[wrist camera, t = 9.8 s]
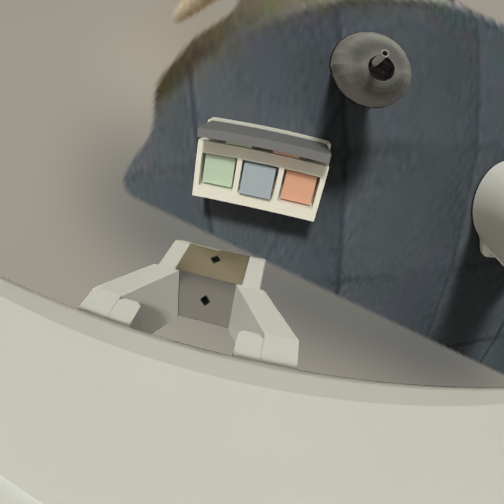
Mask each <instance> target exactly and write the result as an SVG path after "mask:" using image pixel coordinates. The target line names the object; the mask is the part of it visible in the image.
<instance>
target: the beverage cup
mask: <svg viewBox="0 0 504 504" xmlns="http://www.w3.org/2000/svg"><path fill="white" fill-rule="evenodd" d="M329 66H330V73H331V78H332V80H333V82H334V84H335V86H336V88H337V89H338V90H339V91H340V92H341V94H342V95H343V96H344V97H345V98H346V99H348V100H350V101H351V102H353V103H354V104H356V105H359V106H362V107H366V108H383V107H385V106H388V105H391V104H393V103H395V102H396V101H397V100H399V99H400V98H401V97H403V96H404V94H405V92H406V91H407V89H408V87H409V84H410V80H411V69H410V63H409V61H408V59H407V56H406V54H405V53H404V51H403V50H402V49H401V48H400V47H399V45H398V44H397V43H395V42H394V41H392V40H391V39H389V38H388V37H386V36H383V35H380V34H377V33H374V32H356V33H353V34H350V35H347V36H346V37H344V38H343V39H342V40H340V41H339V42H338V43H337V44H336V46H335V48H334V49H333V51H332V53H331V58H330V63H329Z"/></svg>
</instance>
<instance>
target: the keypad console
mask: <svg viewBox="0 0 504 504" xmlns="http://www.w3.org/2000/svg"><path fill="white" fill-rule="evenodd" d="M197 136H198V137H202V138H201V139H199V141H198V149H197V157H196V166H195V175H194V184H193V194H192V195H195V196H200V197H205V198H210V199H215V200H219V201H224V202H229V203H234V204H238V205H243V206H247V207H252V208H257V209H261V210H266V211H270V212H274V213H279V214H283V215H287V216H292V217H296V218H300V219H304V220H308V221H313V222H314V219H315V215H316V212H317V209H318V205H319V202H320V198H321V195H322V191H323V188H324V184H325V181H326V177H327V174H328V170H329V165H328V164H329V162H330V159H331V152H330V148H331V144H330V142H329V141H327V140H323V139H319V138H315V137H311V136H307V135H303V134H299V133H294V132H290V131H285V130H281V129H276V128H272V127H267V126H262V125H257V124H251V123H246V122H240V121H235V120H229V119H222V118H216V117H213V118H211V119H208V123H206V124H204V125H202V126H200V127H198V133H197ZM206 153H210V154H215V155H221V156H226V157H232V158H237V165H236V171H235V177H234V183H233V185H232V187H226V186H221V185H216V184H211V183H206V182H202V181H203V172H204V164H205V156H206ZM246 160H247V161H252V162H257V163H261V164H266V165H271V166H275V167H277V169H276V174H275V178H274V183H273V187H272V192H271V196H270V200H269V199H265V198H260V197H256V196H251V195H246V194H242V193H239V191H240V185H241V179H242V173H243V168H244V163H245V162H246ZM287 169H288V170H293V171H297V172H301V173H305V174H309V175H313V176H317V181H316V185H315V188H314V192H313V196H312V199H311V203H310V205H307V204H303V203H299V202H295V201H290V200H286V199H282V198H281V192H282V188H283V183H284V179H285V175H286V170H287Z"/></svg>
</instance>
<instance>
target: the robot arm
mask: <svg viewBox="0 0 504 504" xmlns="http://www.w3.org/2000/svg"><path fill="white" fill-rule="evenodd" d="M473 222H474V226H475V229H476V231H477V233H478V235H479V238H480V251H481V253H482V254H483V255H484V256H485V257H495V258H496V259H497V260H498V261H499V262H500V263H501V264H502V265H503V266H504V161H503V162H501V163H499V164H497V165H495V166H494V167H493V168H491V169H490V170H489V171H488V173H487V174H486V175H485V176H484V178H483V179H482V181H481V183H480V184H479V187H478V189H477V191H476V194H475V198H474V203H473ZM265 262H266V260H265V259H261V258H256V257H250V256H245V255H240V254H235V253H231V252H226V251H221V250H219V249H215V248H211V247H207V246H203V245H199V244H195V243H191V242H187V241H183V240H176V241H175V242H174V243H173V245H172V246H171V248H170V249H169V250H168V252H167V253H166V255H165V256H164V258H163V259H162V260H161V262H160V263H159V265H156V264H153V265H150V266H148V267H145V268H143V269H140V270H138V271H135V272H132V273H130V274H127V275H124V276H122V277H119V278H117V279H114V280H112V281H109V282H107V283H104V284H102V285H99V286H97V287H94V289H93V290H92V291H91V293H90V294H89V295H88V296H87V297H86V299H85V300H84V301H83V302H82V304H81V305H80V306H79V308H78V309H77V308H74V307H72V306H69V305H67V304H64V303H62V302H59V301H57V300H54V299H52V298H49V297H47V296H45V295H42V294H40V293H37V292H35V291H33V290H31V289H28V288H26V287H24V286H22V285H19V284H17V283H15V282H13V281H11V280H9V279H6V278H4V277H2V276H0V504H504V387H447V386H428V385H413V384H401V383H390V382H380V381H371V380H363V379H355V378H348V377H340V376H333V375H326V374H320V373H314V372H308V371H302V370H297V365H298V349H299V348H298V347H299V341H298V339H297V338H296V336H295V335H294V333H293V332H292V330H291V329H290V327H289V326H288V324H287V323H286V322H285V320H284V319H283V317H282V316H281V314H280V313H279V311H278V310H277V308H276V307H275V306H274V304H273V303H272V301H271V300H270V298H269V297H268V295H267V294H266V292H265V291H263V290H260V287H261V282H262V277H263V272H264V267H265ZM178 315H179V316H183V317H187V318H191V319H196V320H200V321H204V322H207V323H211V324H215V325H218V326H222V327H226V328H228V330H229V332H230V335H231V338H232V340H233V343H234V345H235V347H234V351H233V354H232V356H230V355H226V354H222V353H218V352H213V351H210V350H206V349H202V348H198V347H195V346H191V345H187V344H183V343H180V342H176V341H173V340H169V339H166V338H162V337H159V336H156V335H152V334H153V333H154V332H155V331H157V330H159V329H160V328H161V327H163V326H164V325H166V324H167V323H169V322H170V321H172V320H173V319H175V318H176V317H178Z"/></svg>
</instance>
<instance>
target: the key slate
mask: <svg viewBox="0 0 504 504" xmlns="http://www.w3.org/2000/svg"><path fill="white" fill-rule="evenodd" d="M276 169H277V167H275V166H271V165H266V164H261V163H257V162H252V161H247V160H246V162H245V163H244V168H243V173H242V179H241V185H240V191H239V193H242V194H246V195H251V196H256V197H260V198H265V199H269V200H270V196H271V192H272V187H273V183H274V178H275V174H276Z"/></svg>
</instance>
